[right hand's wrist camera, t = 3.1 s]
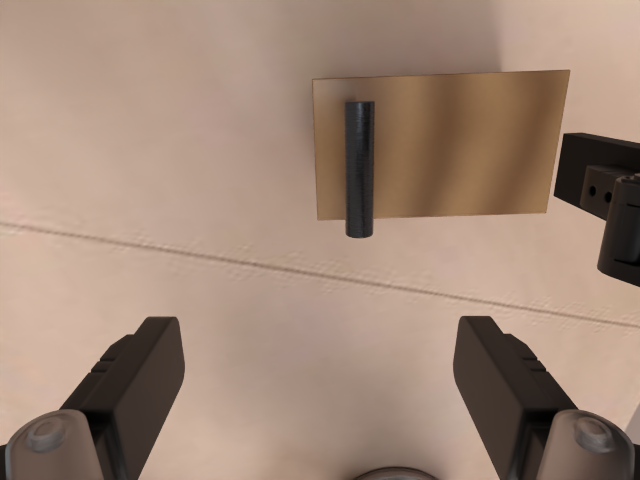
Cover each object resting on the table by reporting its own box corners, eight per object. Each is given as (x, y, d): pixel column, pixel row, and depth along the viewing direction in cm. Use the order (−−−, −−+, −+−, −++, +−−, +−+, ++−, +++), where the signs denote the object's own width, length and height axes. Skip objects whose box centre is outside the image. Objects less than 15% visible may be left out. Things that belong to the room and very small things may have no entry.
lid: (317, 216, 29) (316, 260, 22) (312, 79, 26) (309, 76, 19) (539, 209, 29) (614, 251, 22) (562, 70, 26) (659, 63, 18)
